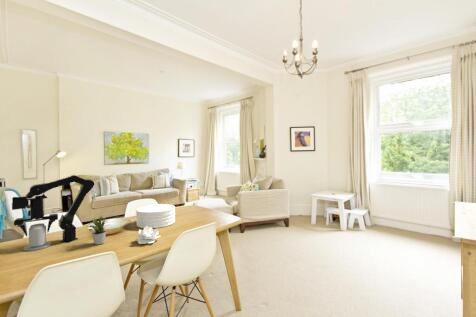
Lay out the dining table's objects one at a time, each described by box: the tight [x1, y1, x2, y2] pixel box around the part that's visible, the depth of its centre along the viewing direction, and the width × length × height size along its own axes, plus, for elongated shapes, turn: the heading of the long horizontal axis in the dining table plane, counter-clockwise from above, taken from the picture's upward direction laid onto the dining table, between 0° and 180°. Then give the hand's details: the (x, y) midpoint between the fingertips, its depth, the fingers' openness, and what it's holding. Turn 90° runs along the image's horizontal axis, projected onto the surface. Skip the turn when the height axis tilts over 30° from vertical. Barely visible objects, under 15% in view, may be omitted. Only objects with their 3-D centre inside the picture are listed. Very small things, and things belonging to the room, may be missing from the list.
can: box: [28, 222, 47, 248], centre depth 134 cm, size 8×8×12 cm
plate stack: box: [135, 203, 176, 229], centre depth 181 cm, size 28×28×12 cm
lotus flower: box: [134, 226, 161, 245], centre depth 142 cm, size 14×15×9 cm
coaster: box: [23, 241, 52, 252], centre depth 134 cm, size 12×12×1 cm
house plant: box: [85, 214, 110, 245], centre depth 140 cm, size 14×14×16 cm
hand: (37, 234), depth 134 cm, fingers open, 9 cm apart
